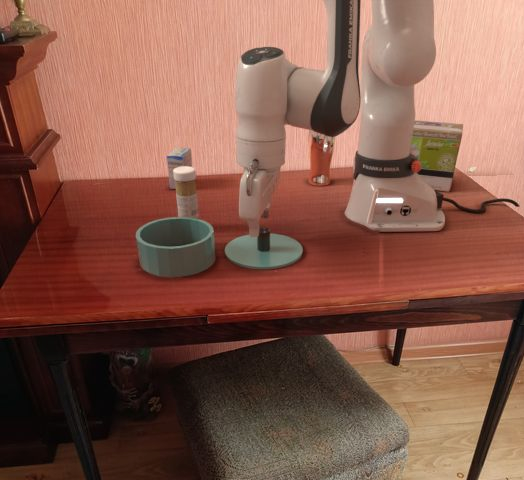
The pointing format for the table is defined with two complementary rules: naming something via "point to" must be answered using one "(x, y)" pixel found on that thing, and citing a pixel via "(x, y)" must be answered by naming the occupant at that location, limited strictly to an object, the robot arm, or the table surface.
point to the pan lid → (263, 251)
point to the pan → (177, 257)
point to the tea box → (436, 151)
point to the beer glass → (320, 158)
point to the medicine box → (178, 162)
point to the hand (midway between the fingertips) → (259, 225)
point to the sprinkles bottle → (186, 192)
